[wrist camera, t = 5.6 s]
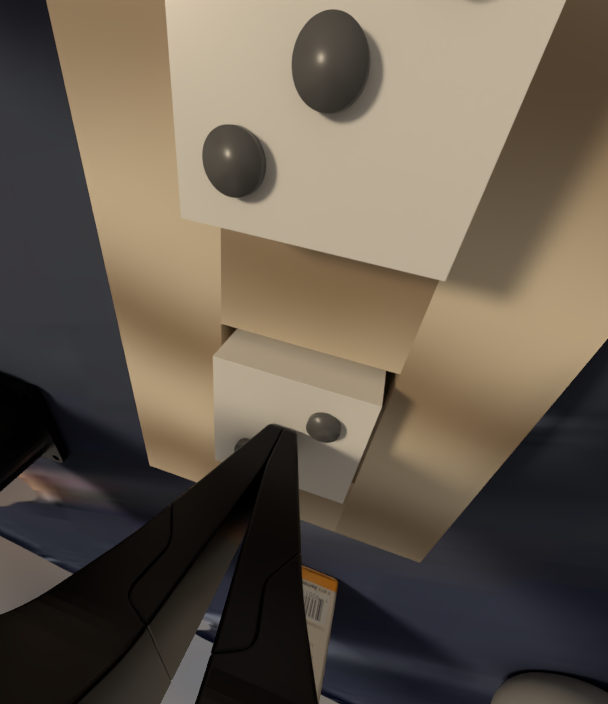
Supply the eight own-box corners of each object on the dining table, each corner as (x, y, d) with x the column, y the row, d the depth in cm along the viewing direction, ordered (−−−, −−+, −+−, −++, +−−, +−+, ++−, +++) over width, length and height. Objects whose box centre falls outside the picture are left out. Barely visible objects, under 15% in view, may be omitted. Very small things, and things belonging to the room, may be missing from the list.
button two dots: (355, 434, 13) (341, 509, 10) (250, 401, 13) (212, 464, 11) (389, 341, 10) (381, 412, 8) (257, 306, 11) (208, 360, 8)
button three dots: (434, 232, 7) (446, 286, 5) (251, 191, 8) (174, 220, 5) (550, -76, 5) (709, -318, 2) (265, -102, 5) (127, -317, 3)
